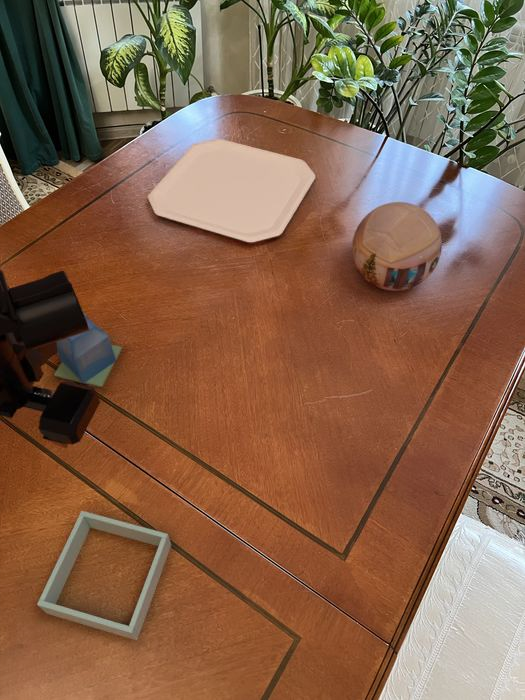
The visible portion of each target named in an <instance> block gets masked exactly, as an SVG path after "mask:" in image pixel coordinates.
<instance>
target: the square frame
mask: <svg viewBox="0 0 525 700" xmlns="http://www.w3.org/2000/svg"><path fill="white" fill-rule="evenodd" d="M91 529H93V530H98V531H101V532H105V533H109V534H112V535H116V536H119V537H123V538H127V539H130V540H134V541H138V542H141V543H145V544H149V545H152V546H156V547H157V549H156V552H155V554H154V557H153V560H152V563H151V565H150V568H149V571H148V573H147V576H146V578H145V581H144V584H143V587H142V589H141V593H140V595H139V597H138V600H137V603H136V606H135V609H134V611H133V614H132V617H131V619H130V622H129V624H128V625H127V624H123V623H120V622H117V621H114V620H110V619H106V618H103V617H99V616H96V615H93V614H90V613H86V612H83V611H80V610H75V609H73V608H70V607H66V606H62V605H59V604H57V602H58V600H59V598H60V595H61V593H62V592H63V589H64V587H65V585H66V583H67V580H68V578H69V576H70V574H71V571H72V569H73V567H74V565H75V563H76V561H77V558H78V556H79V555H80V552H81V550H82V547H83V545H84V543H85V541H86V539H87V536H88V534H89V532H90V530H91ZM171 548H172V542H171V539H170V535H169V533H166V532H163V531H159V530H155V529H151V528H147V527H144V526H140V525H136V524H132V523H129V522H126V521H121V520H117V519H114V518H110V517H107V516H104V515H99V514H96V513H92V512H88V511H85V510H81V511H80V513H79V515H78V517H77V519H76V521H75V524H74V525H73V528H72V530H71V532H70V533H69V537H68V538H67V540H66V543H65V544H64V546H63V549H62V551H61V552H60V555H59V557H58V558H57V561H56V564H55V566H54V568H53V570H52V572H51V574H50V575H49V578H48V581H47V582H46V584H45V587H44V589H43V591H42V593H41V595H40V596H39V599H38V601H37V603H36V605H37V607H38V608H40V609H41V610H42V611H43V612H44V613H46V615H50V616H54V617H57V618H59V619H63V620H66V621H70V622H74V623H77V624H80V625H84V626H86V627H91V628H93V629H97V630H100V631H103V632H107V633H110V634H114V635H116V636H120V637H123V638H127V639H130V640H134V641H138V639H139V637H140V634H141V631H142V628H143V626H144V622H145V620H146V617H147V615H148V611H149V610H150V606H151V603H152V601H153V598H154V594H155V592H156V589H157V587H158V583H159V581H160V578H161V575H162V572H163V569H164V567H165V565H166V561H167V559H168V556H169V553H170V551H171Z"/></svg>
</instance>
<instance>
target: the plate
mask: <svg viewBox="0 0 525 700" xmlns="http://www.w3.org/2000/svg"><path fill="white" fill-rule="evenodd" d="M315 180H316V174H315V173H314V171H313V170H312V169H311V167H310V166H309V165H308V164H307V163H306V161H305V160H303V159H300V158H296V157H293V156H289V155H285V154H281V153H277V152H274V151H270V150H265V149H262V148H258V147H253V146H250V145H246V144H241V143H238V142H234V141H230V140H226V139H222V138H215V139H210V140H205V141H200V142H195V143H193V144H191V146H190V147H188V149H187V150H186V151H185V153H184V154H183V155H182V156H181V157H180V158H179V159H178V160H177V162H176V163H175V164H174V165H173V166H172V167H171V169H170V170H168V172H167V173H166V174H165V176H163V177H162V178H161V180H160V181H159V182H158V184H156V185H155V186H154V188H153V189H152V190H151V191H150V192H149V193H148V194H147V200H148V202H149V204H150V206H151V209H152V211H153V213H154V215H156V216H157V217H159V218H160V219H161V218H162V219H165V220H167V221H168V220H169V221H172V222H175V223H178V224H182V225H184V226H188V227H191V228H195V229H199V230H201V231H206V232H208V233H211V234H215V235H219V236H222V237H226V238H228V239H232V240H236V241H239V242H243V243H246V244H257V243H260V242H264V241H268V240H272V239H275V238H279V237H280V236H282V235H283V233H284V231H285V230H286V228H287V226H288V225H289V224H290V221H291V220H292V218H293V216H294V215H295V213H296V212H297V210H298V208H299V207H300V206H301V203H302V202H303V200H304V198H305V196H306V195H307V193H308V192H309V190H310V188H311V187H312V185H313V183H314V182H315Z"/></svg>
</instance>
